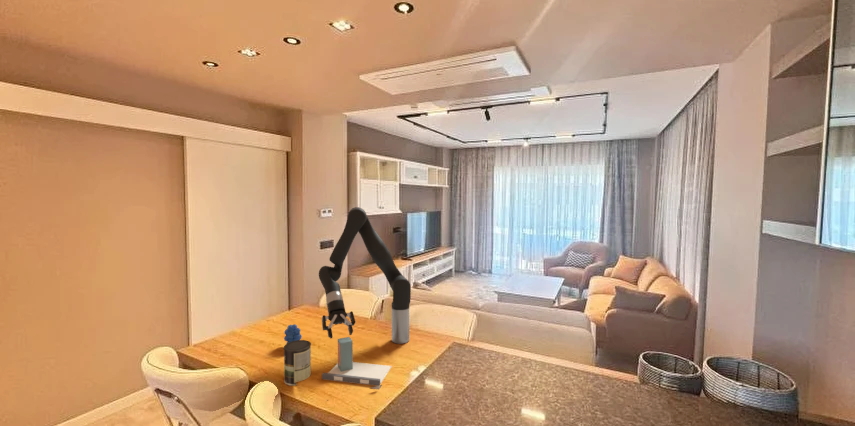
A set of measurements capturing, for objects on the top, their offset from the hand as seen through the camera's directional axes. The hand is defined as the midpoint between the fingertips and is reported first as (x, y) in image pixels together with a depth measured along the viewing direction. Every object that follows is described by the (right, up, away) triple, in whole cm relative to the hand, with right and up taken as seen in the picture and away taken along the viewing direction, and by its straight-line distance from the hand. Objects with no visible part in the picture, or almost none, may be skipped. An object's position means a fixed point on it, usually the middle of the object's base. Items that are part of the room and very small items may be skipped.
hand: (341, 336), depth 150 cm
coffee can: (-15, -14, -11) cm, 23 cm away
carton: (+3, -12, -5) cm, 13 cm away
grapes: (-28, -13, +19) cm, 36 cm away
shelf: (+9, -14, -8) cm, 18 cm away
